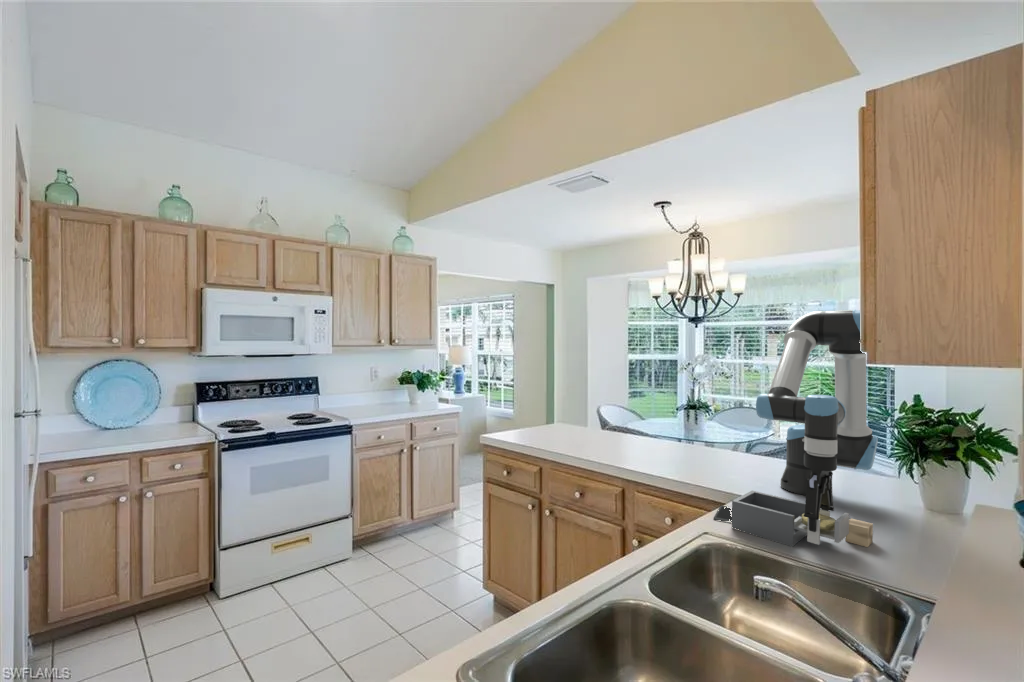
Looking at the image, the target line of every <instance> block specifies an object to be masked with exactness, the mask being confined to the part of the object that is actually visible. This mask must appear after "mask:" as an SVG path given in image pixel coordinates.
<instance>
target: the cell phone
mask: <svg viewBox="0 0 1024 682" xmlns="http://www.w3.org/2000/svg"><path fill="white" fill-rule="evenodd" d="M724 507H726V508H725V509H724ZM718 510H719V511H718ZM729 510H731V509H730V508H727V505H720V506H719V507H718V509H717V511H716V513H715V514H714V516H713V521H716V520H721V521H729V519H730V521H731V520H732V517H731V516H730V515H731V514H730V511H729ZM731 512H732V511H731ZM721 521H720V522H721ZM731 522H732V521H731Z"/></svg>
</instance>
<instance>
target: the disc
mask: <svg viewBox="0 0 1024 682" xmlns="http://www.w3.org/2000/svg"><path fill="white" fill-rule="evenodd" d="M804 514H805V513H804ZM804 514H802V523H803V524H804V525H806V526H808V517H804ZM819 519H820V530H835V521H836V520H837V519H835V518H834V517H832V516H830V517H829V516H826V515H822V514H819Z"/></svg>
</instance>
